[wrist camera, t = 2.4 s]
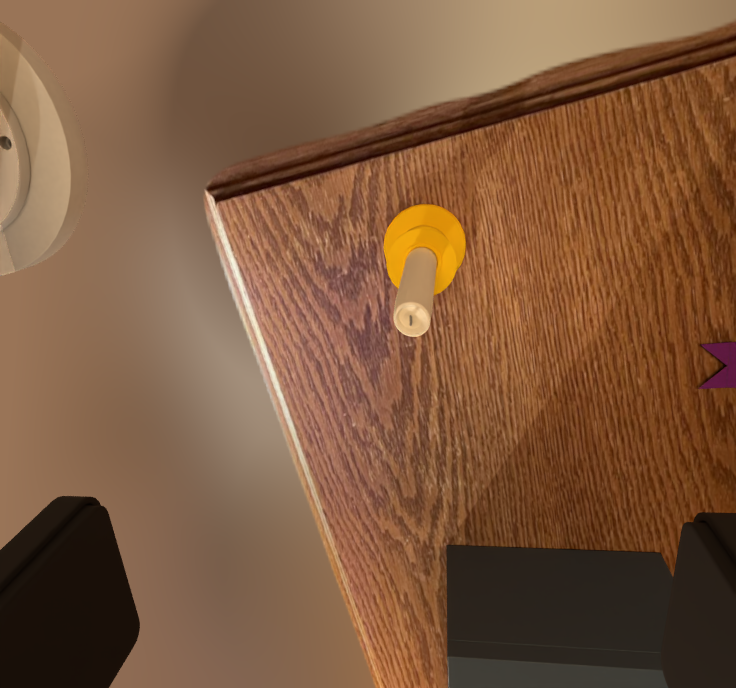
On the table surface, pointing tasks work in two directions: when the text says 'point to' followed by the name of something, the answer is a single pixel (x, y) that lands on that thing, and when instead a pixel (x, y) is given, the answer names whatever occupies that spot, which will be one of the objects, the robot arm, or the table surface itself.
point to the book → (731, 356)
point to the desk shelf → (555, 618)
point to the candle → (421, 262)
